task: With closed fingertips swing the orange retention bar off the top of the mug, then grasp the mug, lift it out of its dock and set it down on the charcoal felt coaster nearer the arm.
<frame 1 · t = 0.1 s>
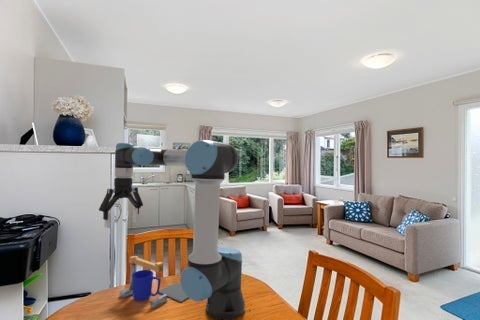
hand: (121, 224, 117), 28 cm above the table, fingers open, 13 cm apart
mug: (146, 299, 108), on the table
coaster: (178, 292, 114), on the table
dock: (132, 292, 112), on the table
clip: (145, 262, 109), point 15 cm above the table, hinge at 0.0°
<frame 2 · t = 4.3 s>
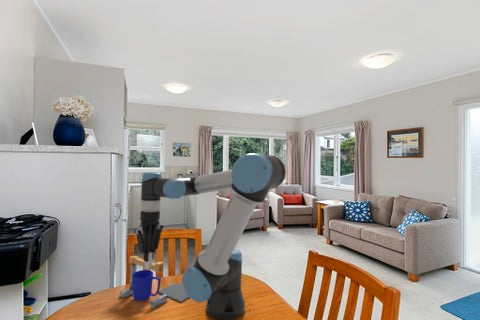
hand: (148, 268, 105), 13 cm above the table, fingers closed
clip: (145, 262, 109), point 15 cm above the table, hinge at 0.3°, touching gripper
everything else where it was.
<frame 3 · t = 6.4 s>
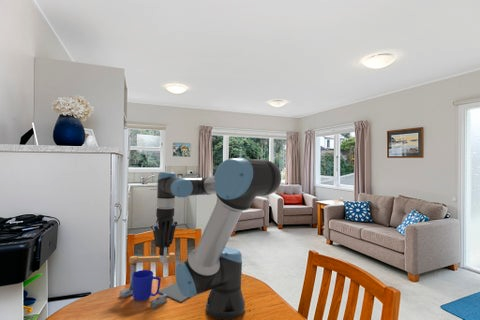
hand: (163, 262, 112), 13 cm above the table, fingers closed
clip: (152, 257, 114), point 15 cm above the table, hinge at 42.2°, touching gripper
everything else where it was.
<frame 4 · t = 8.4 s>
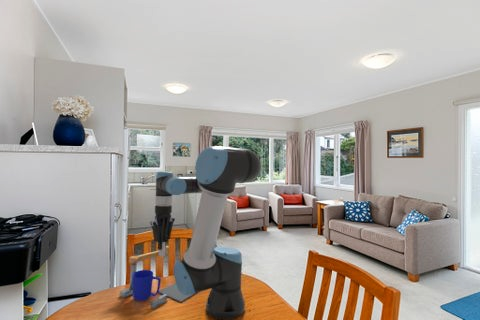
hand: (161, 256, 120), 13 cm above the table, fingers closed
clip: (149, 254, 118), point 15 cm above the table, hinge at 80.8°, touching gripper
everything else where it was.
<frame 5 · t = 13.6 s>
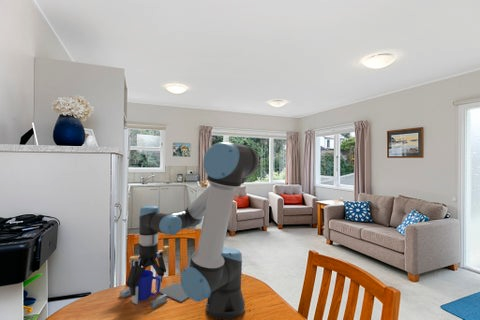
hand: (146, 296, 108), 1 cm above the table, fingers open, 11 cm apart
clip: (149, 254, 118), point 15 cm above the table, hinge at 81.0°
everything else where it was.
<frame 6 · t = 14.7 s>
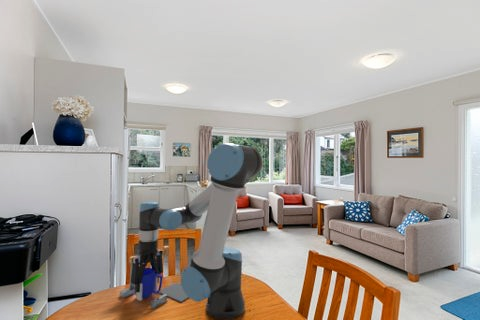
hand: (147, 295, 107), 1 cm above the table, fingers closed on mug, 7 cm apart
mug: (148, 296, 108), point 1 cm above the table, touching gripper
everything else where it was.
when the fingers open (1 cm above the table, at t = 21.2 s): mug stays where it is, resting on coaster.
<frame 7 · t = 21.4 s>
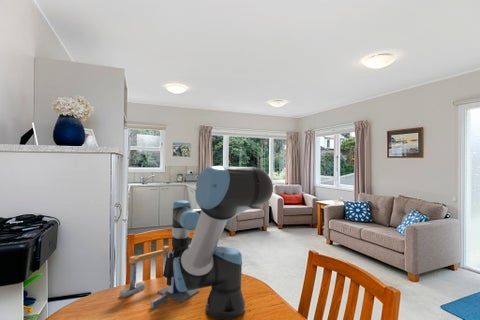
hand: (178, 287, 114), 2 cm above the table, fingers open, 9 cm apart
mug: (179, 290, 114), resting on coaster
everything else where it was.
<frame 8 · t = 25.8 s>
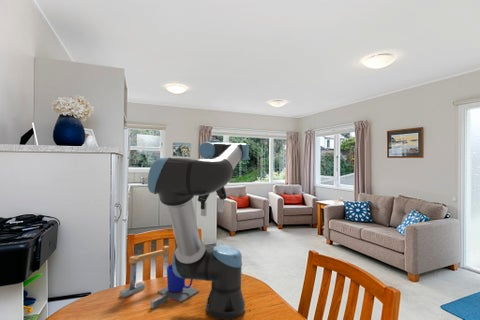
hand: (212, 213, 130), 32 cm above the table, fingers open, 13 cm apart
nothing on the table moved.
at the end: clip at +81° (first picture: +0°); mug inside the target area on the coaster (0.6 cm from its centre), point 0.4 cm above the coaster's base; mug tilted 0° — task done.
